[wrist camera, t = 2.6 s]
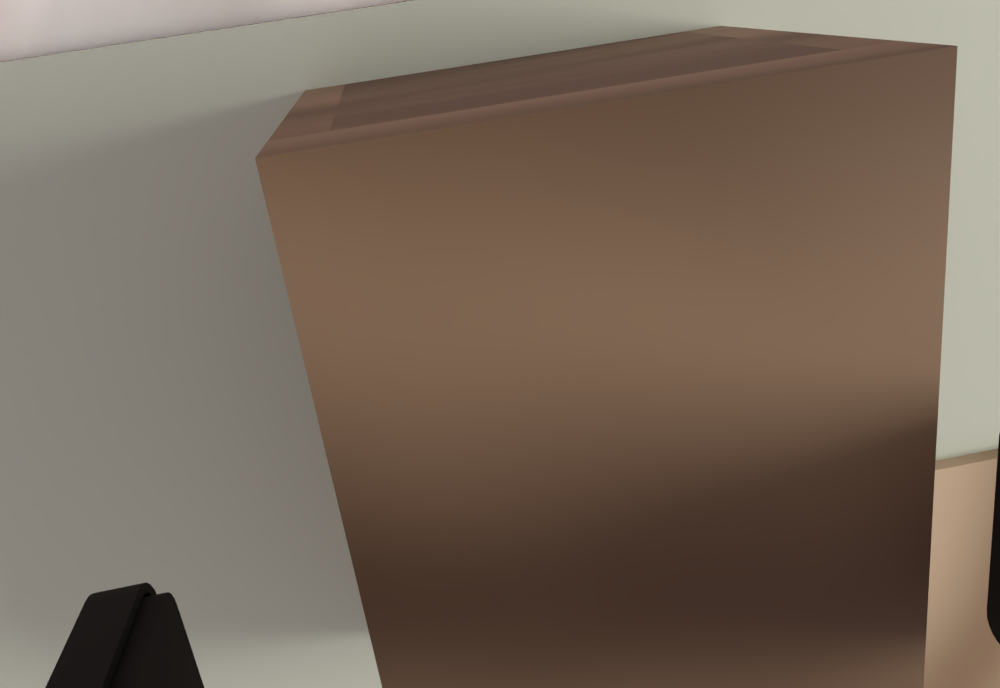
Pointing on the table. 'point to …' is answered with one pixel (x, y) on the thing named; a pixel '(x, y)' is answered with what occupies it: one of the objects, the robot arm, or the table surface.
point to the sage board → (268, 316)
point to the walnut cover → (630, 356)
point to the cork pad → (961, 575)
